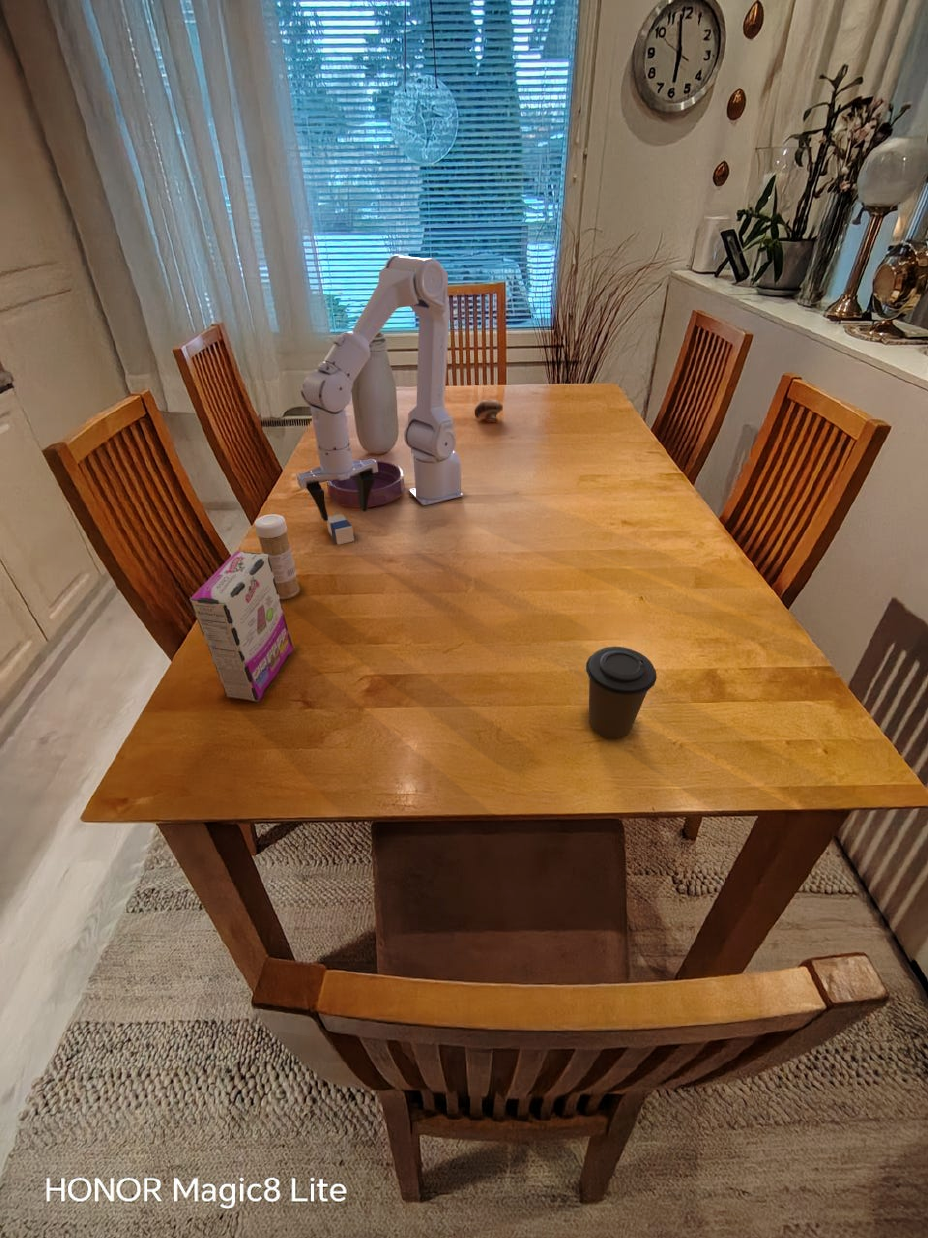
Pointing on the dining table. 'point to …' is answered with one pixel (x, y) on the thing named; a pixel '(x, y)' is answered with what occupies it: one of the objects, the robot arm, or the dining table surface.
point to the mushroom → (488, 410)
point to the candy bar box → (243, 624)
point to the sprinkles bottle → (278, 553)
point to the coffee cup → (617, 689)
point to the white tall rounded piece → (376, 400)
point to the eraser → (340, 529)
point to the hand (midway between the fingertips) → (344, 514)
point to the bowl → (382, 491)
